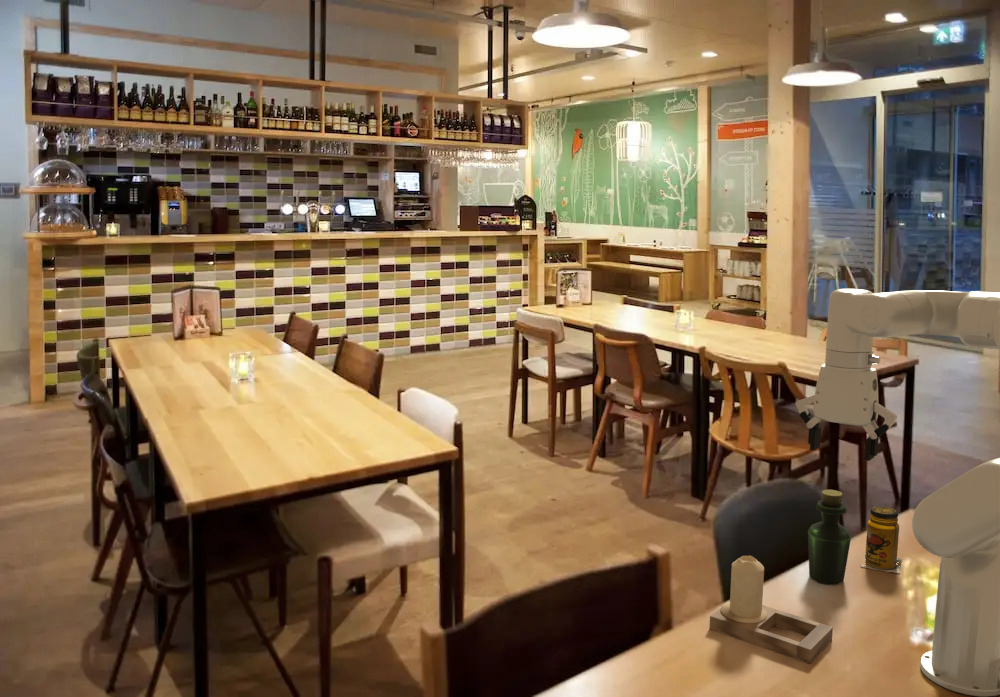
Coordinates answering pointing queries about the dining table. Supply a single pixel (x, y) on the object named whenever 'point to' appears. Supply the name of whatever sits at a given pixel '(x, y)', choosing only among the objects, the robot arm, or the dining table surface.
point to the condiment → (882, 540)
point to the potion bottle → (829, 541)
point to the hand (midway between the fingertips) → (841, 453)
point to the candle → (746, 587)
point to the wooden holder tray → (759, 635)
